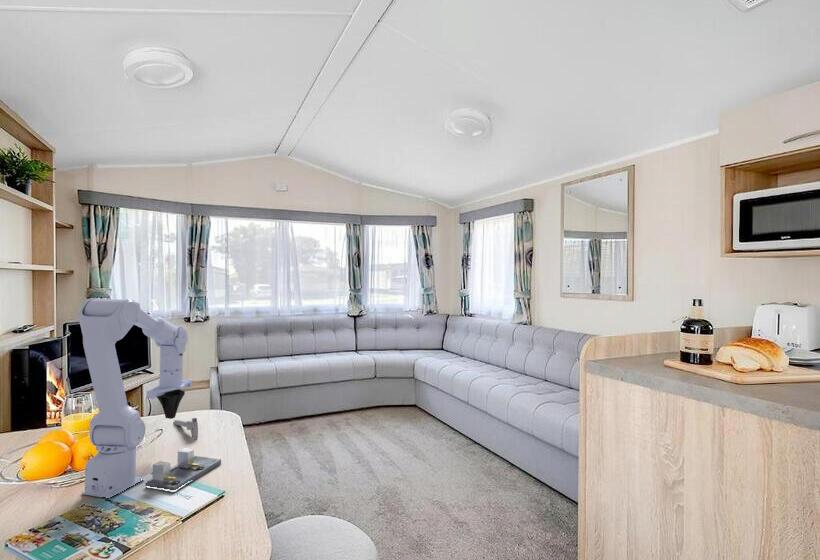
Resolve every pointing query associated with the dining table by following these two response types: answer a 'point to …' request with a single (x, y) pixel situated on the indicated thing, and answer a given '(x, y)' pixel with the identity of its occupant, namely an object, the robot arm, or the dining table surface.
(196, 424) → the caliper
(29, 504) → the dining table surface
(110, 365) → the robot arm
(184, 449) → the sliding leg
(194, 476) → the gauge plate
